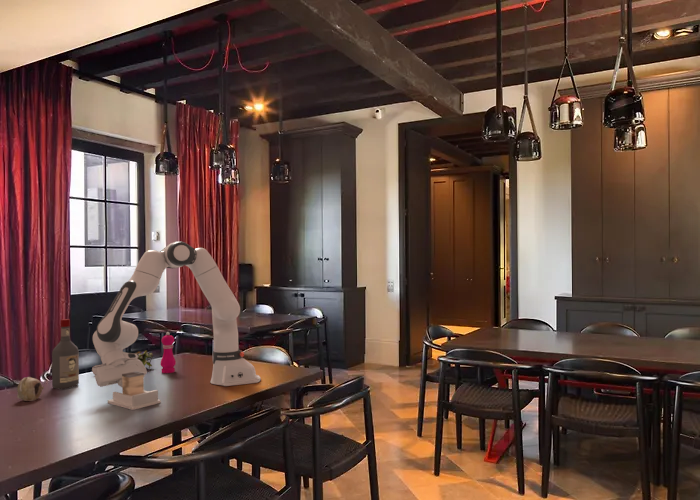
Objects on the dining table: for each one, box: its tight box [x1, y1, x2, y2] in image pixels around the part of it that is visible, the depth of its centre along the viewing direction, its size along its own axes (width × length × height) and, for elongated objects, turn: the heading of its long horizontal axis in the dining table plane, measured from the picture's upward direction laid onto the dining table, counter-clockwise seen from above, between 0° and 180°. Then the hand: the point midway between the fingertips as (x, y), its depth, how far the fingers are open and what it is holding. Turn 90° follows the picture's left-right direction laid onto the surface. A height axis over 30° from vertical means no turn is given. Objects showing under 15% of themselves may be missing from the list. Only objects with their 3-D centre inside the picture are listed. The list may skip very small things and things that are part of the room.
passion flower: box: [134, 350, 154, 370], centre depth 278 cm, size 11×11×12 cm
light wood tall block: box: [121, 371, 145, 396], centre depth 214 cm, size 5×6×10 cm
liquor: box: [51, 318, 80, 390], centre depth 243 cm, size 9×9×30 cm
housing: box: [107, 389, 162, 411], centre depth 214 cm, size 18×12×5 cm
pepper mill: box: [160, 331, 176, 374], centre depth 271 cm, size 7×7×20 cm
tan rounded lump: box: [16, 376, 45, 402], centre depth 221 cm, size 9×8×10 cm
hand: (128, 389), depth 216 cm, fingers closed, pressing on light wood tall block
